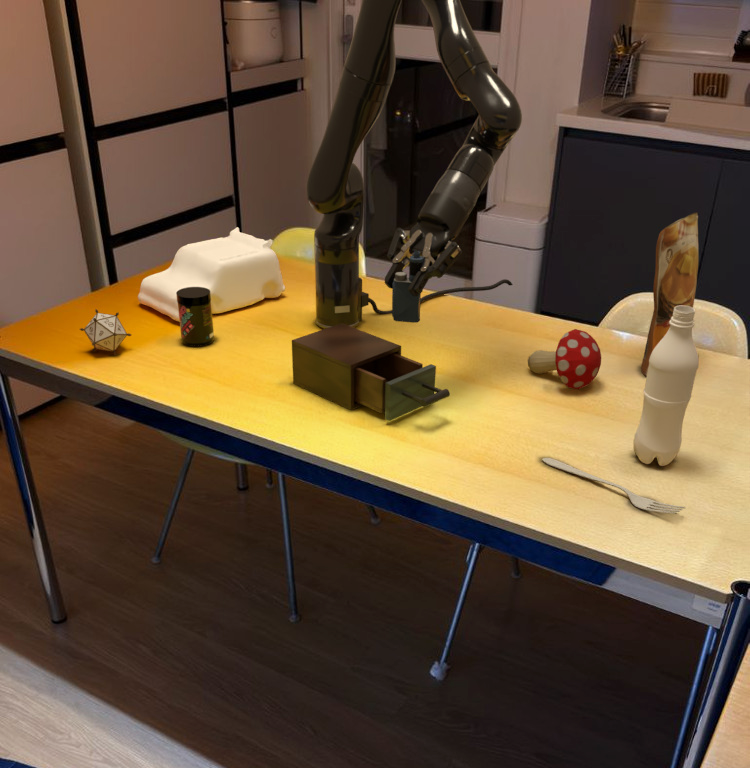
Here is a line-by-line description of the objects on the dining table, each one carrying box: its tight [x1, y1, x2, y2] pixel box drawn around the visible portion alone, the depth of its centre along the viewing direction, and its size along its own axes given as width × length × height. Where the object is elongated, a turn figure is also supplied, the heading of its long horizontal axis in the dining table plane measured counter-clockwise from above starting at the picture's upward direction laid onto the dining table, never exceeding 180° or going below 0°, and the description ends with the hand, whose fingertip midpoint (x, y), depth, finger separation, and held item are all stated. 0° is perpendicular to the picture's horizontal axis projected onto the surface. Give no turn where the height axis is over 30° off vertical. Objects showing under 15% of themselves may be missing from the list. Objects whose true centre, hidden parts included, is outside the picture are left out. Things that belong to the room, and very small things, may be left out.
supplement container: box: [176, 287, 215, 348], centre depth 178 cm, size 7×7×10 cm
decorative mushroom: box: [527, 328, 602, 391], centre depth 165 cm, size 11×11×15 cm
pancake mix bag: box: [640, 211, 700, 376], centre depth 167 cm, size 7×19×28 cm, turn 136°
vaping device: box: [391, 251, 424, 324], centre depth 150 cm, size 3×5×12 cm, turn 79°
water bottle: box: [633, 306, 700, 467], centre depth 135 cm, size 7×7×25 cm
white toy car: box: [137, 226, 286, 323], centre depth 198 cm, size 19×30×13 cm, turn 133°
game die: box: [79, 308, 132, 356], centre depth 174 cm, size 9×8×10 cm
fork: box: [541, 457, 686, 515], centre depth 133 cm, size 3×24×2 cm, turn 44°
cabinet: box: [291, 323, 402, 411], centre depth 161 cm, size 16×13×9 cm
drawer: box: [354, 353, 451, 422], centre depth 154 cm, size 20×11×7 cm, turn 45°
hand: (400, 289), depth 149 cm, fingers closed on vaping device, 5 cm apart
